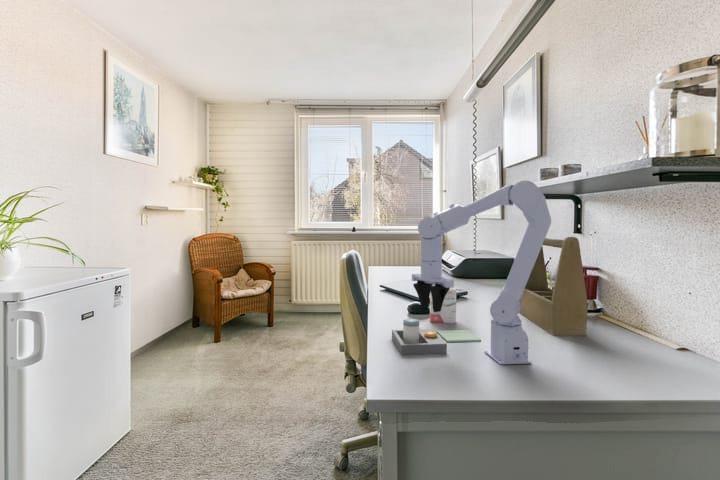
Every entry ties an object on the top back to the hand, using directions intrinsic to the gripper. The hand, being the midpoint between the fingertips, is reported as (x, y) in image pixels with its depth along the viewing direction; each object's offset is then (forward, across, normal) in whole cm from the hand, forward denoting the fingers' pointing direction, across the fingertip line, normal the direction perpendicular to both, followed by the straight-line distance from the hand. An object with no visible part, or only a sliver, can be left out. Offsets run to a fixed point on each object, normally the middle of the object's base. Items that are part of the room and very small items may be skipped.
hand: (430, 309), depth 106 cm
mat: (+10, +2, -12) cm, 16 cm away
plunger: (+9, 0, 0) cm, 9 cm away
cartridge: (+10, +2, +5) cm, 11 cm away
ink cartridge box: (+10, +18, -21) cm, 29 cm away
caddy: (+10, -3, -50) cm, 51 cm away
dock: (+10, +2, +3) cm, 11 cm away
